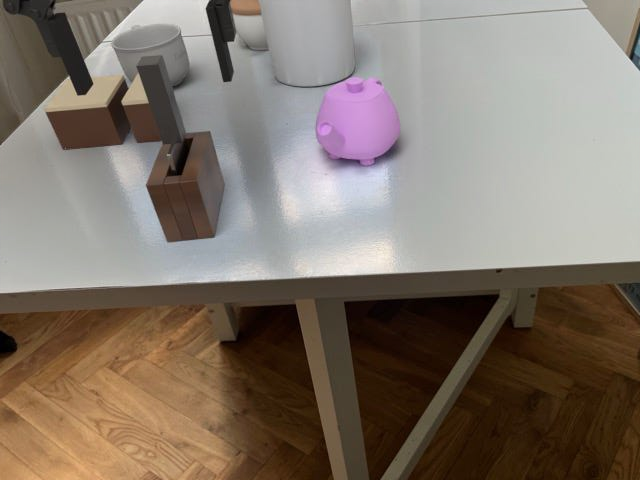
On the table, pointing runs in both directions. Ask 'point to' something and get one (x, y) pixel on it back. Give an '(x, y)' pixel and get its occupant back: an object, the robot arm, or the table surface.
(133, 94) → the cake slice
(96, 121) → the cake
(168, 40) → the teacup
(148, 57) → the knife
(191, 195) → the knife block
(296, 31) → the utensil holder
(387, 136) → the teapot
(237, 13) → the trinket box
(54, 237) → the table surface
